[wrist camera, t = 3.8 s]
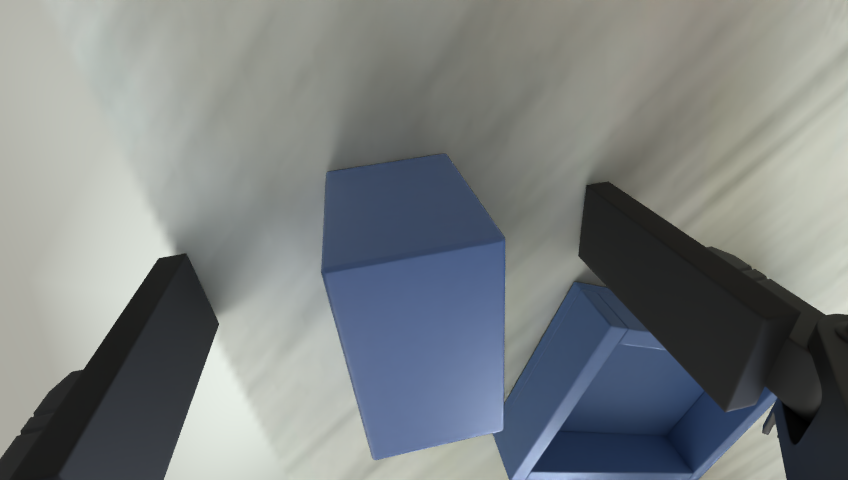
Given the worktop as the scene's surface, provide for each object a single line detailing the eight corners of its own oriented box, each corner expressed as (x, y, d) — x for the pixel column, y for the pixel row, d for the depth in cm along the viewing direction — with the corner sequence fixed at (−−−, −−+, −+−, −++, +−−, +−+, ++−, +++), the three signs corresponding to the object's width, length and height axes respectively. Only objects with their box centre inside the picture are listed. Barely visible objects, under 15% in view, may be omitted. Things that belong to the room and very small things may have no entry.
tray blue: (490, 428, 19) (509, 481, 17) (574, 280, 16) (611, 326, 13) (662, 436, 22) (696, 482, 20) (765, 315, 19) (820, 356, 17)
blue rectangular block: (325, 171, 12) (319, 270, 7) (446, 152, 12) (506, 236, 8) (361, 328, 15) (373, 462, 11) (457, 309, 15) (505, 431, 11)
